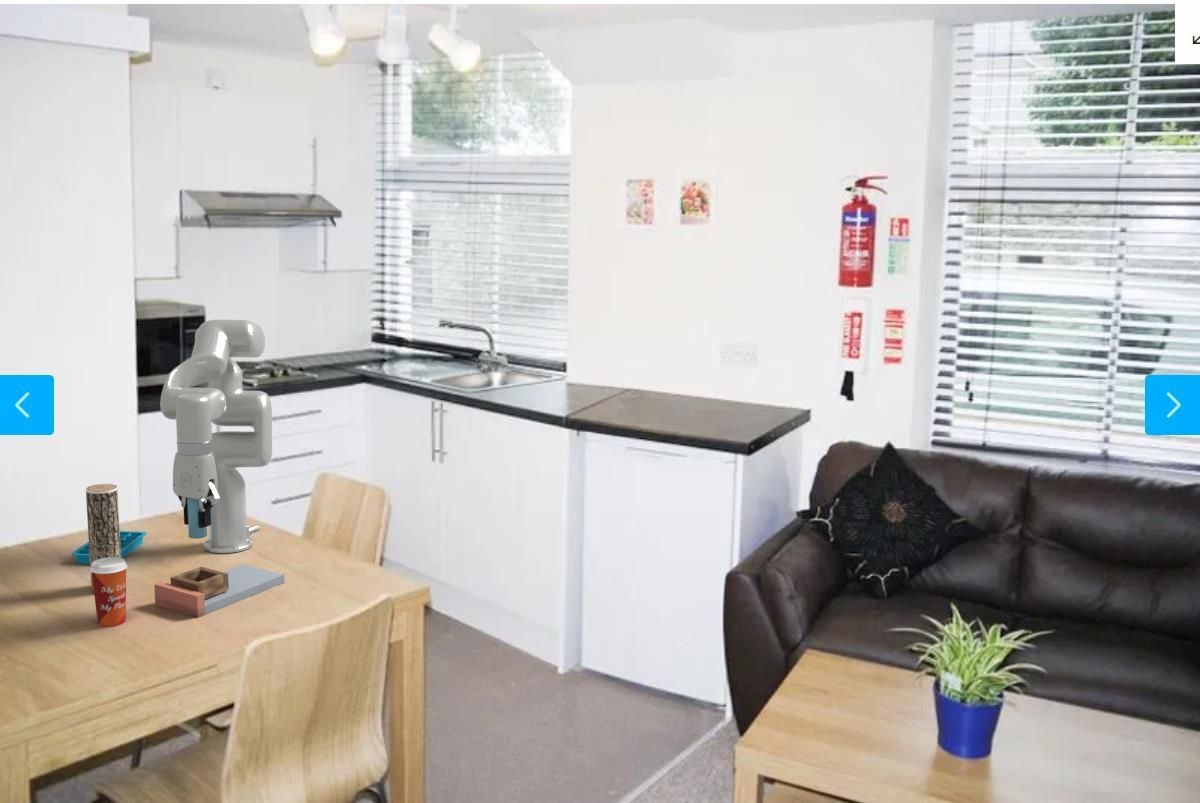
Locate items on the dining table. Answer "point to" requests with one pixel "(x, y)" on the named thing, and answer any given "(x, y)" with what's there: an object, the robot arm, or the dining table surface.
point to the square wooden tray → (202, 581)
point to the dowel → (195, 520)
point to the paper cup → (110, 590)
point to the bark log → (103, 522)
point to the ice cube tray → (127, 545)
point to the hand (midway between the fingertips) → (197, 524)
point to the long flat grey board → (241, 586)
